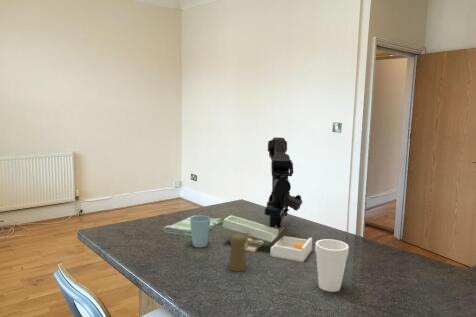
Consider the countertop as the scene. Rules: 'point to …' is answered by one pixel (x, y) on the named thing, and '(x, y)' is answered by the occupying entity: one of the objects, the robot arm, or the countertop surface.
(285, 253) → the bin
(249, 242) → the lever stand
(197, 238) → the cup
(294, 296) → the countertop surface
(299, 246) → the ball
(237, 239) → the olive knobbed post
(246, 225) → the lever
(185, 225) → the dish towel
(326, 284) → the foam cup
